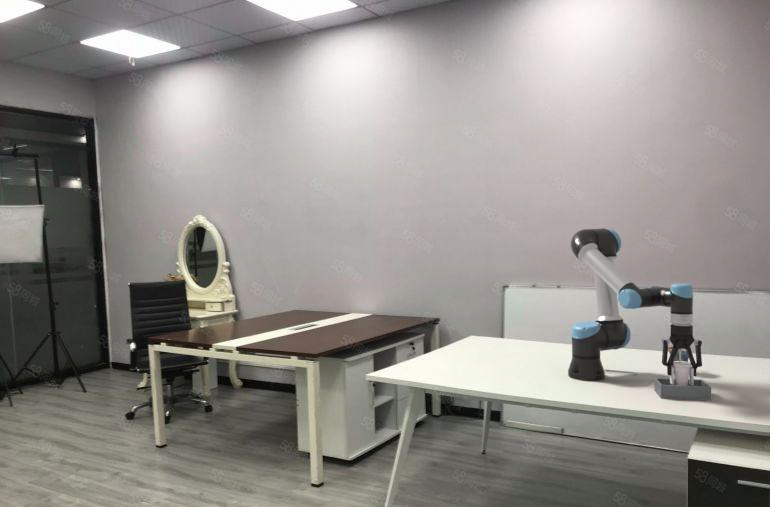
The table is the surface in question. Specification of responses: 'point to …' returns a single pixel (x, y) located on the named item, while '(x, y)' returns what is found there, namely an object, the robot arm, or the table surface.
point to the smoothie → (681, 371)
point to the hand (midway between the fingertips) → (681, 383)
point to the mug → (683, 354)
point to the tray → (682, 390)
